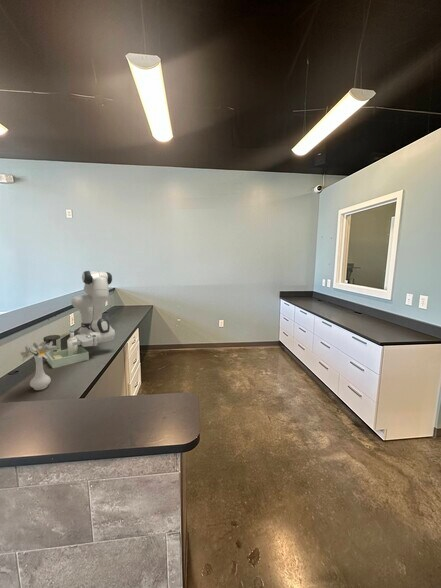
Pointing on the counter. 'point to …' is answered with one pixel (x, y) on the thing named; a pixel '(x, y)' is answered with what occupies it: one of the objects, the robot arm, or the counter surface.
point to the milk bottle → (71, 348)
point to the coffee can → (54, 339)
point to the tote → (67, 357)
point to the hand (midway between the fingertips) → (70, 342)
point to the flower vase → (39, 363)
